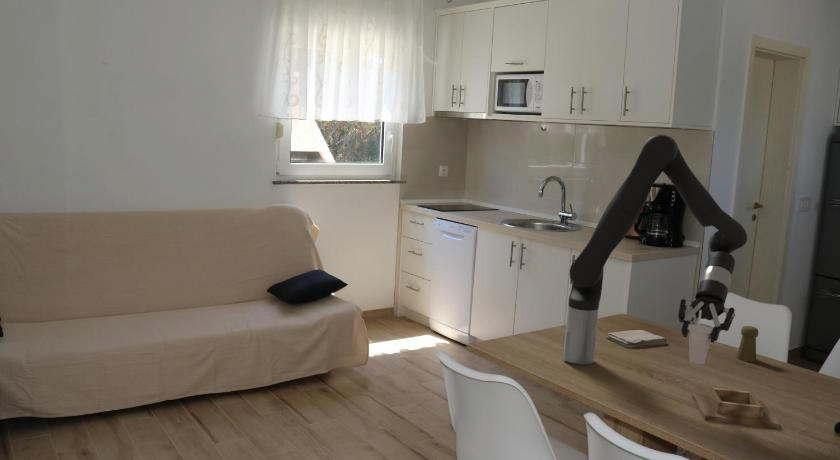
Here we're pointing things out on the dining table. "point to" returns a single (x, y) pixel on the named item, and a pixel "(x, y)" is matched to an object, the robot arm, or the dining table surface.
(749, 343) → the cork
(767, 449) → the dining table surface
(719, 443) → the dining table surface
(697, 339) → the smoothie
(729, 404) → the open wooden box
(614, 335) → the washcloth
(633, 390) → the dining table surface
